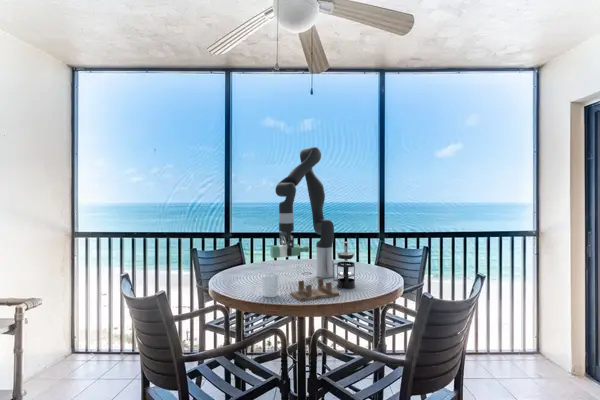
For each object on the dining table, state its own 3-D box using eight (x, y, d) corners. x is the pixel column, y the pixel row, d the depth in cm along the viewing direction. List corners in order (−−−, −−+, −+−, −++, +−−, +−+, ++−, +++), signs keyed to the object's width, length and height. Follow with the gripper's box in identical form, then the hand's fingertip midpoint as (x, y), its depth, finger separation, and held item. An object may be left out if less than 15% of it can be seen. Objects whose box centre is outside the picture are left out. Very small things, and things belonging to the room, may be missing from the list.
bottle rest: (327, 289, 164) (327, 277, 164) (339, 295, 154) (339, 282, 154) (290, 294, 156) (290, 281, 156) (300, 301, 146) (300, 287, 146)
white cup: (262, 293, 158) (262, 272, 158) (278, 292, 159) (278, 272, 159) (261, 298, 150) (261, 276, 150) (279, 297, 151) (278, 276, 151)
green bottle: (304, 252, 175) (305, 241, 174) (309, 256, 170) (310, 245, 169) (269, 255, 167) (270, 244, 166) (273, 260, 162) (274, 248, 161)
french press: (355, 284, 174) (355, 240, 174) (357, 288, 165) (357, 243, 165) (333, 283, 175) (332, 240, 175) (334, 288, 166) (333, 243, 166)
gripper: (298, 222, 162) (299, 256, 162) (287, 220, 175) (288, 252, 175) (284, 223, 159) (285, 258, 159) (274, 221, 172) (274, 253, 172)
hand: (286, 254), depth 167 cm, fingers closed on green bottle, 6 cm apart
